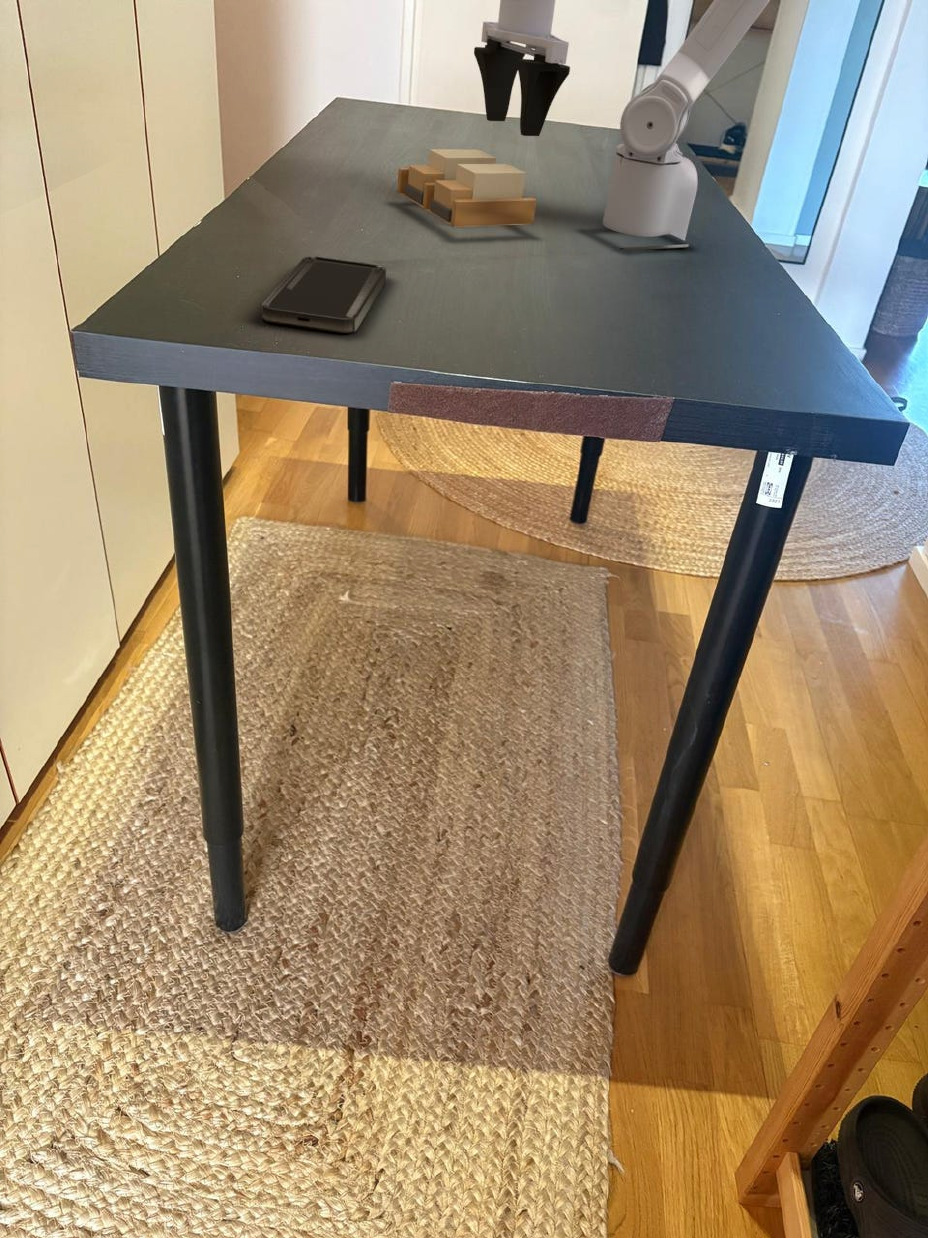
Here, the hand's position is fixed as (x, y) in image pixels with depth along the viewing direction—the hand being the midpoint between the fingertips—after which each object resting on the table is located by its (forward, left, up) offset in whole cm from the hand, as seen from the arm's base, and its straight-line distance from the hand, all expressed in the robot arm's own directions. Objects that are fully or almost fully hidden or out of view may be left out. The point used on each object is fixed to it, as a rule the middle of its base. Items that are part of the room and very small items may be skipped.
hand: (512, 127), depth 103 cm
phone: (+31, +23, -9) cm, 40 cm away
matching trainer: (+6, -2, -8) cm, 10 cm away
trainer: (+6, +5, -8) cm, 11 cm away
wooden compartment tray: (+6, +1, -9) cm, 11 cm away
